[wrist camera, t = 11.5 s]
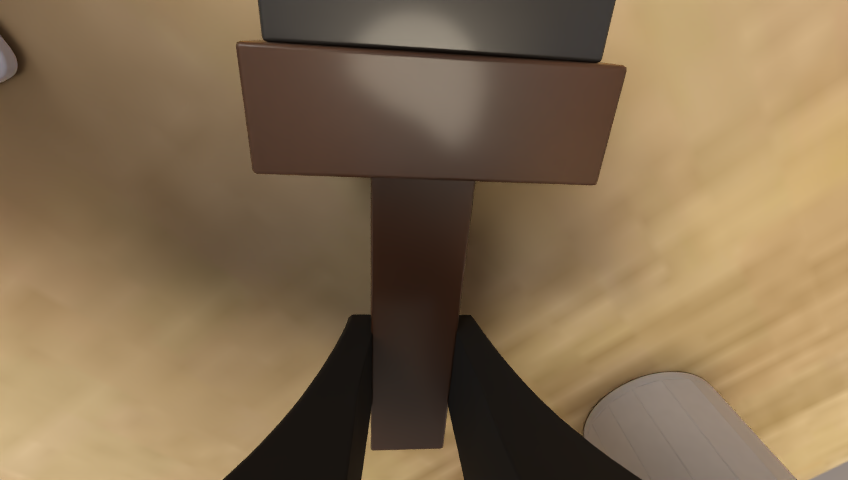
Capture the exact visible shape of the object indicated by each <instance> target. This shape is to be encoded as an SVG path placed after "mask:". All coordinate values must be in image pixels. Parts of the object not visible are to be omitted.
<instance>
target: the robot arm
mask: <svg viewBox="0 0 848 480" xmlns="http://www.w3.org/2000/svg"><path fill="white" fill-rule="evenodd" d="M17 67H18V64H17V59H16V56H15V55H14V53H13V51H12V50H11V48H10V47H9V45H8V44H7V43H6V42H5V41H4V39H3V38H2V37H1V36H0V83H1V82H3V81H5V80H7V79H9V78H11V77H12V76H13V75H14V74H15V73H16V71H17ZM371 407H372V333H371V315H356V314H353V315H351V316H350V317H349V318H348V321H347V324H346V326H345V328H344V330H343V332H342V334H341V336H340V338H339V340H338V342H337V344H336V345H335V347H334V349H333V351H332V352H331V354H330V355H329V357H328V359H327V360H326V362H325V364H324V365H323V367H322V368H321V370H320V371H319V373H318V374H317V376H316V377H315V378H314V380H313V381H312V383H311V384H310V385H309V387H308V388H307V390H306V391H305V392H304V394H303V395H302V396H301V398H300V399H299V400H298V402H297V403H296V404H295V405H294V407H293V408H292V409H291V410H290V411H289V413H288V414H287V415H286V416H285V417H284V418H283V420H282V421H281V422H280V423H279V424H278V425H277V426H276V427H275V428H274V430H273V431H272V432H271V433H270V434H269V435H268V436H267V437H266V438H265V439H264V440H263V442H262V443H261V444H260V445H259V446H258V447H257V448H256V449H255V450H254V451H253V452H252V453H251V454H250V455H249V456H248V457H247V458H246V459H244V460H243V461H242V462H241V463H240V464H239V465H238V466H237V467H236V468H235V469H234V470H233V471H232V472H231V473H229V474H228V475H227V476H226V477H225V478H224V479H223V480H361V477H362V470H363V463H364V456H365V449H366V442H367V435H368V428H369V421H370V414H371ZM448 407H449V412H450V416H451V421H452V426H453V430H454V435H455V439H456V444H457V448H458V453H459V458H460V462H461V467H462V471H463V476H464V480H642V479H640V478H639V477H637V476H636V475H634V474H633V473H632V472H630V471H629V470H627V469H626V468H624V467H623V466H622V465H620V464H619V463H617V462H616V461H614V460H613V459H611V458H610V457H609V456H607V455H606V454H605V453H603V452H602V451H601V450H599V449H598V448H597V447H595V446H594V445H593V444H591V443H590V442H589V441H588V440H586V439H585V438H584V437H583V436H581V435H580V434H579V433H578V432H576V431H575V430H574V429H573V428H571V427H570V426H569V425H568V424H567V423H566V422H564V421H563V420H562V419H561V418H560V417H559V416H558V415H556V414H555V413H554V412H553V411H552V410H551V409H550V408H549V407H548V406H547V405H546V404H545V403H544V402H543V401H542V400H541V399H540V398H539V397H538V396H537V395H536V394H535V393H534V392H533V391H532V390H531V389H530V388H529V387H528V386H527V385H526V384H525V383H524V382H523V381H522V379H521V378H520V377H519V376H518V375H517V374H516V373H515V372H514V370H513V369H512V368H511V367H510V366H509V364H508V363H507V362H506V361H505V360H504V358H503V357H502V356H501V355H500V354H499V352H498V351H497V350H496V348H495V347H494V346H493V345H492V343H491V342H490V341H489V339H488V338H487V337H486V335H485V334H484V333H483V331H482V330H481V328H480V327H479V326H478V324H477V323H476V321H475V320H474V318H473V317H472V316H471V315H459V320H458V328H457V334H456V342H455V350H454V359H453V367H452V375H451V383H450V391H449V400H448Z"/></svg>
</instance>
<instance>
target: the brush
mask: <svg viewBox="0 0 848 480" xmlns="http://www.w3.org/2000/svg"><path fill="white" fill-rule="evenodd" d="M615 1H616V0H258V5H259V15H260V24H261V33H262V38H263V40H254V41H239V42H237V44H236V50H237V58H238V65H239V72H240V80H241V87H242V95H243V102H244V110H245V117H246V124H247V132H248V139H249V147H250V154H251V162H252V169H253V171H254V173H257V174H276V175H305V176H334V177H363V178H371V333H372V407H371V450H405V449H440V448H443V443H444V434H445V426H446V418H447V410H448V400H449V391H450V383H451V375H452V367H453V359H454V350H455V342H456V334H457V328H458V320H459V312H460V303H461V295H462V287H463V279H464V271H465V262H466V254H467V246H468V238H469V230H470V221H471V213H472V205H473V197H474V189H475V181H480V182H509V183H538V184H567V185H596V183H597V181H598V177H599V173H600V169H601V165H602V162H603V158H604V154H605V150H606V146H607V143H608V139H609V135H610V131H611V127H612V124H613V120H614V116H615V112H616V109H617V105H618V101H619V97H620V93H621V90H622V86H623V82H624V78H625V74H626V67H625V66H623V65H616V64H608V63H600V61H601V59H602V56H603V52H604V48H605V44H606V39H607V35H608V31H609V27H610V22H611V18H612V14H613V10H614V5H615Z"/></svg>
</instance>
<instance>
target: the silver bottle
mask: <svg viewBox="0 0 848 480" xmlns="http://www.w3.org/2000/svg"><path fill="white" fill-rule="evenodd" d="M584 438H585V439H586V440H588V441H589V442H590V443H591V444H593V445H594V446H595V447H597V448H598V449H599V450H601V451H602V452H603V453H605V454H606V455H607V456H609V457H610V458H611V459H613V460H614V461H616V462H617V463H619V464H620V465H622V466H623V467H624V468H626V469H627V470H629V471H630V472H632V473H633V474H634V475H636V476H637V477H639V478H640V479H642V480H797V479H796V478H795V477H794V476H793V475H792V474H791V473H790V472H789V470H788V469H787V468H786V467H785V466H784V465H783V464H782V463H781V462H780V461H779V459H778V458H777V457H776V456H775V455H774V454H773V453H772V452H771V451H770V450H769V449H768V447H767V446H766V445H765V444H764V443H763V442H762V441H761V440H760V439H759V438H758V436H757V435H756V434H755V433H754V432H753V431H752V430H751V429H750V428H749V427H748V425H747V424H746V423H745V422H744V421H743V420H742V419H741V418H740V417H739V416H738V414H737V413H736V412H735V411H734V410H733V409H732V408H731V407H730V406H729V405H728V404H727V402H726V401H725V400H724V399H723V398H722V397H721V396H720V395H719V394H718V393H717V391H716V390H715V389H714V388H713V387H712V386H711V385H710V384H709V383H708V382H707V381H705V380H704V379H702V378H700V377H698V376H695V375H693V374H688V373H683V372H662V373H656V374H651V375H647V376H643V377H640V378H638V379H635V380H632V381H630V382H628V383H626V384H624V385H622V386H620V387H618V388H617V389H615V390H614V391H612V392H611V393H609V394H608V395H607V396H606V397H604V398H603V399H602V400H601V401H600V402H599V403H598V404H597V405H596V406H595V408H594V409H593V410H592V412H591V413H590V415H589V417H588V418H587V421H586V424H585V427H584Z"/></svg>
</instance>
